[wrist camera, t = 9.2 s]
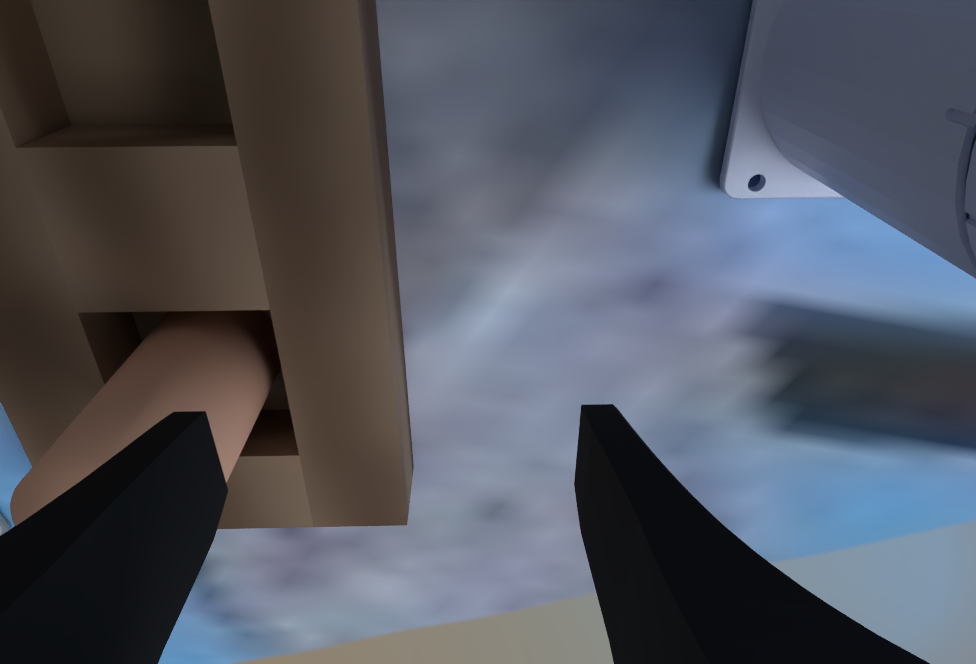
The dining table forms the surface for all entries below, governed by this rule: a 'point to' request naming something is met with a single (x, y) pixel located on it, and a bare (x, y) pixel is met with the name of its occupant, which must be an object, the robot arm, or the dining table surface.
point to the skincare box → (3, 525)
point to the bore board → (209, 228)
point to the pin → (165, 397)
